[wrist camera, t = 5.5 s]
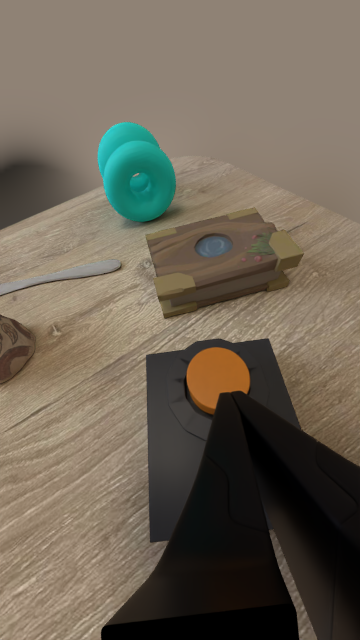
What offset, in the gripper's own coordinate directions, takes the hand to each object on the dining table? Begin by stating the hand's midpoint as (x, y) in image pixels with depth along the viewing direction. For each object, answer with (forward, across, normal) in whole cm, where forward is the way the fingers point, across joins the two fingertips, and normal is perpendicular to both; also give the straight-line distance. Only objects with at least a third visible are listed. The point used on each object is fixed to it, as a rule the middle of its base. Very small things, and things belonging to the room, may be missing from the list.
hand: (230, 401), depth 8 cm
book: (+20, -3, -4) cm, 21 cm away
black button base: (+8, 0, +8) cm, 11 cm away
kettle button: (+5, 0, +3) cm, 6 cm away
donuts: (+32, +6, -16) cm, 36 cm away
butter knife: (+22, +23, -6) cm, 32 cm away
